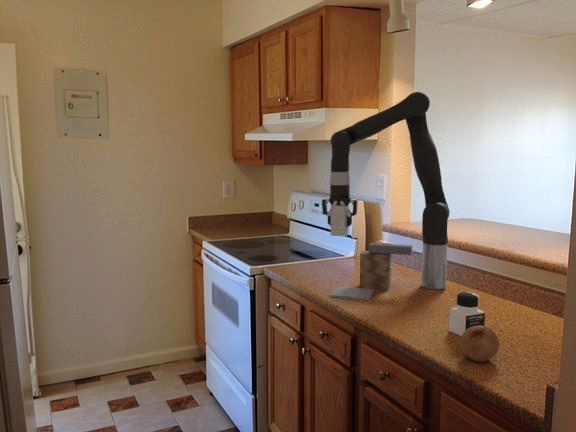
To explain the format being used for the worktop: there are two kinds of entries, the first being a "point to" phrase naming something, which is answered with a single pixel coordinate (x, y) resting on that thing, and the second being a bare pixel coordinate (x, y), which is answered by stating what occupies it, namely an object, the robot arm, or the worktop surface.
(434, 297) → the worktop surface
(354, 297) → the slate pad
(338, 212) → the skincare box
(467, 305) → the medicine bottle
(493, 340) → the onion
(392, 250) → the bar
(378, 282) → the walnut block
